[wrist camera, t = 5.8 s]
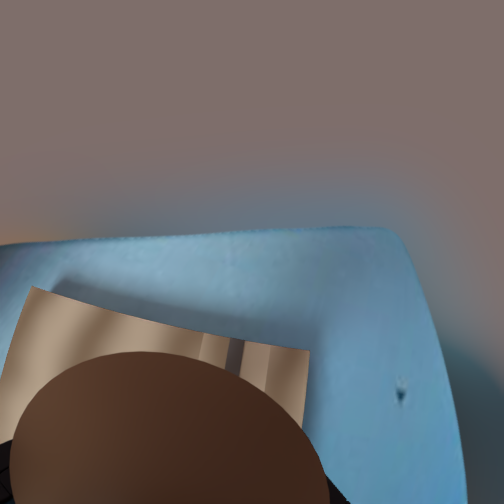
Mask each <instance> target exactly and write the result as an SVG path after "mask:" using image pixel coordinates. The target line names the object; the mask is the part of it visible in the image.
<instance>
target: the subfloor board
mask: <svg viewBox="0 0 504 504" xmlns="http://www.w3.org/2000/svg"><path fill="white" fill-rule="evenodd" d="M136 351H146V352H163V353H169V354H175V355H181V356H186V357H189V358H193V359H197V360H200V361H204V362H207V363H209V364H212V365H214V366H217V367H220V368H222V369H225V370H227V371H229V372H231V373H233V374H235V375H237V376H239V377H240V378H242V379H244V380H246V381H248V382H249V383H251V384H252V385H254V386H255V387H257V388H258V389H260V390H261V391H263V392H264V393H266V394H267V395H268V396H269V397H271V398H272V399H273V400H274V401H275V402H277V403H278V404H279V405H280V406H281V407H283V409H284V410H285V411H286V412H287V413H288V414H289V415H290V416H291V417H292V418H293V419H294V420H295V421H296V422H297V423H298V425H299V426H300V428H301V429H302V422H303V414H304V405H305V397H306V387H307V377H308V367H309V356H310V351H308V350H301V349H294V348H287V347H280V346H274V345H268V344H262V343H256V342H250V341H245V340H240V339H235V338H228V337H223V336H217V335H212V334H207V333H203V332H198V331H193V330H188V329H184V328H179V327H175V326H171V325H166V324H162V323H158V322H154V321H150V320H145V319H141V318H138V317H134V316H130V315H126V314H122V313H119V312H115V311H111V310H108V309H104V308H100V307H97V306H94V305H90V304H87V303H83V302H80V301H77V300H74V299H70V298H67V297H64V296H61V295H58V294H55V293H52V292H49V291H46V290H43V289H40V288H37V287H34V286H32V287H31V289H30V291H29V294H28V296H27V299H26V301H25V304H24V307H23V309H22V312H21V315H20V317H19V320H18V323H17V326H16V329H15V332H14V335H13V338H12V341H11V344H10V347H9V350H8V354H7V357H6V361H5V364H4V368H3V372H2V375H1V379H0V444H2V443H4V442H6V441H9V440H11V439H13V436H14V432H15V430H16V427H17V424H18V422H19V419H20V417H21V416H22V414H23V412H24V410H25V409H26V407H27V405H28V404H29V402H30V401H31V400H32V399H33V397H34V396H35V395H36V394H37V392H38V391H39V390H40V389H41V388H42V387H44V386H45V385H46V384H47V383H48V382H49V381H50V380H51V379H53V378H54V377H56V376H57V375H59V374H60V373H62V372H63V371H65V370H66V369H68V368H71V367H73V366H75V365H77V364H79V363H81V362H83V361H87V360H90V359H93V358H96V357H99V356H103V355H109V354H115V353H120V352H136Z"/></svg>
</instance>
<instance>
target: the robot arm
mask: <svg viewBox="0 0 504 504" xmlns="http://www.w3.org/2000/svg"><path fill="white" fill-rule="evenodd" d="M12 440H13V439H11V440H9V441H6V442H4V443H2V444H0V504H15V501H14V497H13V492H12V488H11V481H10V469H9V465H10V450H11V445H12ZM325 475H326V474H325ZM326 480H327V484H328V489H329V497H330V504H351V503H350V502H349V501H346V500H347V499H346V498H345V497H344V496H343V494H342V493H341V492H340V491H339V490H338V489H337V487H336V486H335V485H334V484H333V483H332V482H331V480H330V479H329V478H328V477H327V476H326Z"/></svg>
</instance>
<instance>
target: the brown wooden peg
mask: <svg viewBox="0 0 504 504" xmlns="http://www.w3.org/2000/svg"><path fill="white" fill-rule="evenodd" d="M9 469H10V481H11V488H12V492H13V497H14V501H15V504H330V497H329V489H328V484H327V480H326V475H325V472H324V470H323V467H322V464H321V462H320V459H319V456H318V455H317V453H316V451H315V449H314V447H313V445H312V444H311V442H310V440H309V439H308V437H307V436H306V434H305V433H304V432H303V430H302V429H301V428H300V426H299V425H298V423H297V422H296V421H295V420H294V419H293V418H292V417H291V416H290V415H289V414H288V413H287V412H286V411H285V410H284V409H283V407H281V406H280V405H279V404H278V403H277V402H275V401H274V400H273V399H272V398H271V397H269V396H268V395H267V394H266V393H264V392H263V391H261V390H260V389H258V388H257V387H255V386H254V385H252V384H251V383H249V382H248V381H246V380H244V379H242V378H240V377H239V376H237V375H235V374H233V373H231V372H229V371H227V370H225V369H222V368H220V367H217V366H214V365H212V364H209V363H207V362H204V361H200V360H197V359H193V358H189V357H186V356H181V355H175V354H169V353H163V352H146V351H136V352H120V353H115V354H109V355H103V356H99V357H96V358H93V359H90V360H87V361H83V362H81V363H79V364H77V365H75V366H73V367H71V368H68V369H66V370H65V371H63V372H62V373H60V374H59V375H57V376H56V377H54V378H53V379H51V380H50V381H49V382H48V383H47V384H46V385H45V386H44V387H42V388H41V389H40V390H39V391H38V392H37V394H36V395H35V396H34V397H33V399H32V400H31V401H30V402H29V404H28V405H27V407H26V409H25V410H24V412H23V414H22V416H21V417H20V419H19V422H18V424H17V427H16V430H15V432H14V436H13V440H12V445H11V450H10V465H9Z"/></svg>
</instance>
